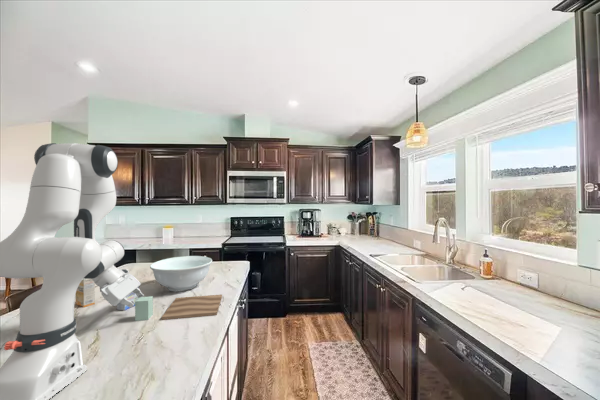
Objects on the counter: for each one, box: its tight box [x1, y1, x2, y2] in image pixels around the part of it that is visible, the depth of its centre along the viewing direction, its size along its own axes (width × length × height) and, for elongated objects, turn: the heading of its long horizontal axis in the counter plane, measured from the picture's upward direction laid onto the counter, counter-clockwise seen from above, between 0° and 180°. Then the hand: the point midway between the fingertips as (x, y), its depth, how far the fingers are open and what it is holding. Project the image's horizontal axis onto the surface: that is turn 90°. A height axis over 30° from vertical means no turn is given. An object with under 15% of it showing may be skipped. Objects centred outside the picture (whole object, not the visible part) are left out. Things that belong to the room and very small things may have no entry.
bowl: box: [149, 255, 213, 292], centre depth 150 cm, size 32×32×15 cm
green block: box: [134, 295, 154, 322], centre depth 110 cm, size 5×5×8 cm
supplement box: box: [75, 278, 96, 308], centre depth 125 cm, size 8×5×13 cm, turn 62°
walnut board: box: [161, 294, 223, 321], centre depth 121 cm, size 22×22×1 cm
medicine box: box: [116, 292, 139, 311], centre depth 122 cm, size 8×4×9 cm, turn 168°
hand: (137, 301), depth 110 cm, fingers open, 8 cm apart
